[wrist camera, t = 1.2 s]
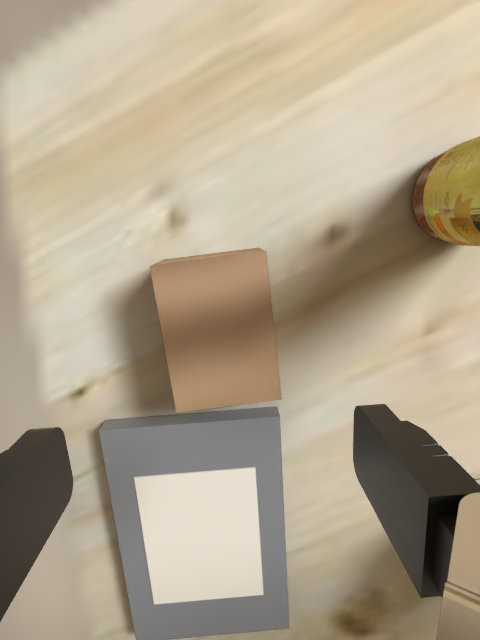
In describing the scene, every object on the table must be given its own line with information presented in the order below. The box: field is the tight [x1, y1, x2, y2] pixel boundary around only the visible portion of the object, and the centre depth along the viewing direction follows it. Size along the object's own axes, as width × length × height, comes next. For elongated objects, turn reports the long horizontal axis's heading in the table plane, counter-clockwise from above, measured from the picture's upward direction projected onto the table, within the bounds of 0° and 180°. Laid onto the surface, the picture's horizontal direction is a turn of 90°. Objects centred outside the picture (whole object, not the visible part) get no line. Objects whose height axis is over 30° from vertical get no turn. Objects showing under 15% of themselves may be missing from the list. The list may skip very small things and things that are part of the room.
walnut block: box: [150, 248, 281, 413], centre depth 24 cm, size 9×6×5 cm
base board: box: [99, 407, 289, 640], centre depth 29 cm, size 20×13×2 cm, turn 4°
